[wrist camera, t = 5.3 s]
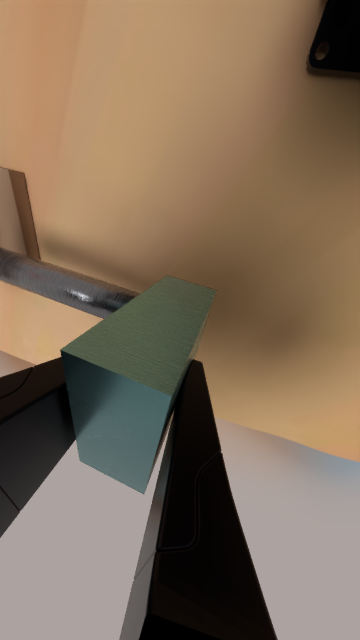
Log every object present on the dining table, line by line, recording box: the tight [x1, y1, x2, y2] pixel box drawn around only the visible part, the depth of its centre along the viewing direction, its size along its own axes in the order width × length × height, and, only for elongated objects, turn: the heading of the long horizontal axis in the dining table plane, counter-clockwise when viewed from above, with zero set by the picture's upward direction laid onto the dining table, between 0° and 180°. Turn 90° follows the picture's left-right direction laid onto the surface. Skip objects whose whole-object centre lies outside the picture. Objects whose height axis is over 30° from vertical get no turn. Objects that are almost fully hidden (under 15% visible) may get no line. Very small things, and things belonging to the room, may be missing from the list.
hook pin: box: [0, 247, 217, 494], centre depth 9 cm, size 18×5×7 cm, turn 77°
